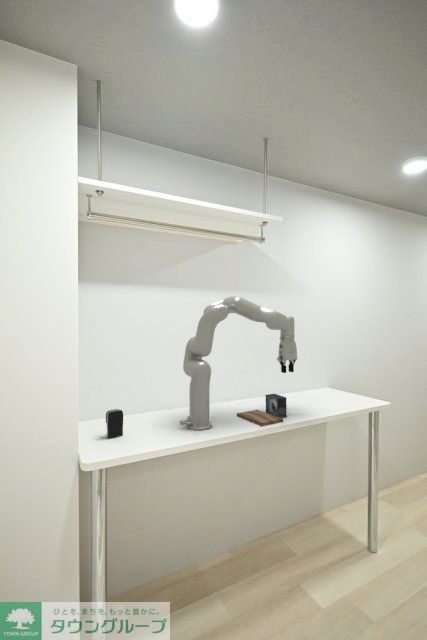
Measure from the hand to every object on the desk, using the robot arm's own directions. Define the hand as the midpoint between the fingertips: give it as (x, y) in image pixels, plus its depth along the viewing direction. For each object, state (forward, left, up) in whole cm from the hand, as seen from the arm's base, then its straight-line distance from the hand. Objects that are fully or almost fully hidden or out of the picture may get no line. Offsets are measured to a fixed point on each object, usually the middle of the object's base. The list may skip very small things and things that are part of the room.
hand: (287, 371), depth 176 cm
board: (-20, 0, -22) cm, 30 cm away
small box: (-9, 0, -23) cm, 24 cm away
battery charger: (-90, +14, -23) cm, 94 cm away
